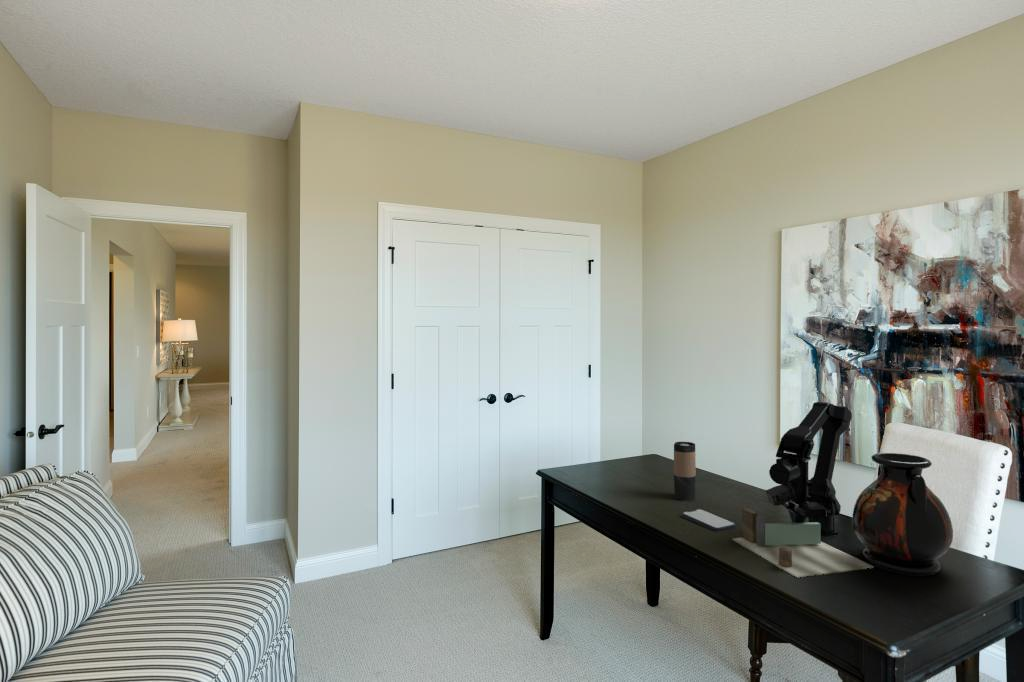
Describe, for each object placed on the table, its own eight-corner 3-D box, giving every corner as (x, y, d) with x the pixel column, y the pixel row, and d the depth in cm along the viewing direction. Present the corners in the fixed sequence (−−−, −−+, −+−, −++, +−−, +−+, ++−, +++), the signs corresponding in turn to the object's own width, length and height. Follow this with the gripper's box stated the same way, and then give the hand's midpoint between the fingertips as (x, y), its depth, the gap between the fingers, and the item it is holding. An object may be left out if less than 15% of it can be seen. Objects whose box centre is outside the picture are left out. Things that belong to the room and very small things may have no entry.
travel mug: (700, 499, 203) (700, 444, 202) (683, 502, 200) (682, 446, 200) (686, 494, 210) (686, 440, 210) (669, 496, 207) (669, 442, 207)
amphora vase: (837, 547, 158) (837, 448, 157) (919, 549, 156) (920, 449, 155) (878, 581, 137) (878, 467, 136) (974, 584, 134) (975, 468, 134)
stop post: (786, 563, 148) (786, 546, 147) (794, 568, 145) (794, 550, 144) (776, 564, 147) (776, 547, 147) (784, 569, 144) (784, 552, 144)
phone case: (737, 529, 175) (700, 513, 189) (737, 524, 175) (700, 508, 189) (716, 533, 171) (679, 517, 185) (716, 528, 171) (680, 512, 185)
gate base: (799, 532, 170) (799, 502, 169) (873, 567, 144) (873, 533, 144) (732, 539, 164) (732, 509, 164) (796, 578, 139) (796, 542, 139)
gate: (758, 545, 157) (758, 518, 157) (755, 543, 159) (755, 516, 159) (821, 544, 158) (821, 517, 158) (817, 541, 160) (817, 515, 160)
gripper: (753, 469, 169) (753, 520, 170) (788, 488, 150) (788, 545, 151) (788, 467, 170) (788, 518, 171) (828, 486, 151) (827, 543, 152)
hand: (796, 530), depth 161 cm, fingers closed
